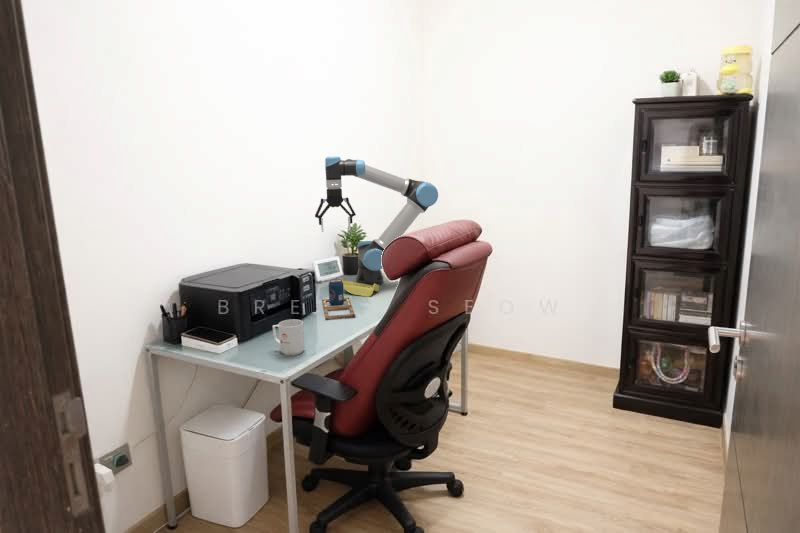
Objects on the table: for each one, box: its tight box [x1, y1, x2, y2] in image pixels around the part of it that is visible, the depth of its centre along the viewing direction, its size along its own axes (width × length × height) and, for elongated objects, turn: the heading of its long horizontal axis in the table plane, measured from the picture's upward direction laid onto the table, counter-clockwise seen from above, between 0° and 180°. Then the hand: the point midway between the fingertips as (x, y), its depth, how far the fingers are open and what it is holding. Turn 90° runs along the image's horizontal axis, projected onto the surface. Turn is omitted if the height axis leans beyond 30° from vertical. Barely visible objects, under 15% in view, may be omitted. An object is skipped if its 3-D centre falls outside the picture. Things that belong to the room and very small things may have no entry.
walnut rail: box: [321, 297, 356, 321], centre depth 254 cm, size 29×13×1 cm, turn 11°
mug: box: [271, 318, 306, 356], centre depth 203 cm, size 12×9×11 cm
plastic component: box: [339, 277, 380, 298], centre depth 282 cm, size 20×7×10 cm
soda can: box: [328, 278, 345, 306], centre depth 260 cm, size 7×7×12 cm
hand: (336, 230), depth 277 cm, fingers open, 13 cm apart
